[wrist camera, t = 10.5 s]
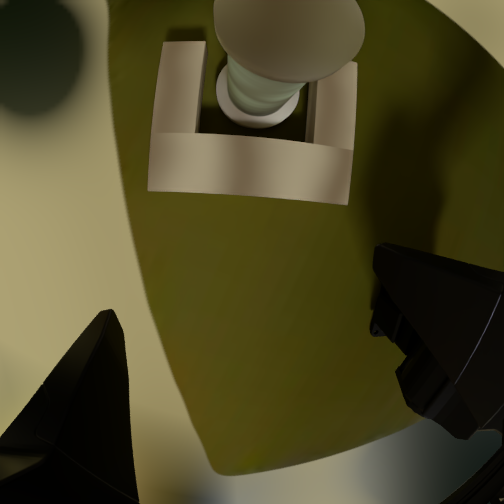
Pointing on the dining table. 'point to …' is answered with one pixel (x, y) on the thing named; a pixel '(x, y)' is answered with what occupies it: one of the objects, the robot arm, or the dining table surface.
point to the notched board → (249, 139)
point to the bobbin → (280, 53)
